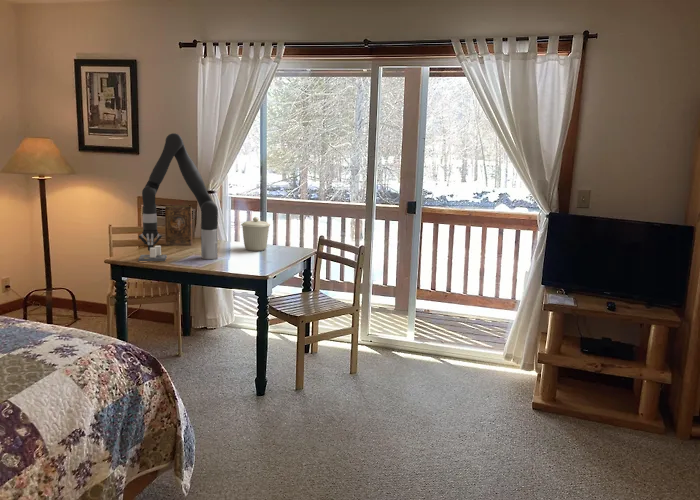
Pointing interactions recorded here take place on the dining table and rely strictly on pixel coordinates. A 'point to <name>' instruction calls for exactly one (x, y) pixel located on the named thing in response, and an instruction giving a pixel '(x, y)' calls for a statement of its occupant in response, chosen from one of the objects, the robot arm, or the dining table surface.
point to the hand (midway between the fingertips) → (150, 251)
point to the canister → (255, 234)
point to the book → (178, 225)
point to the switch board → (147, 258)
